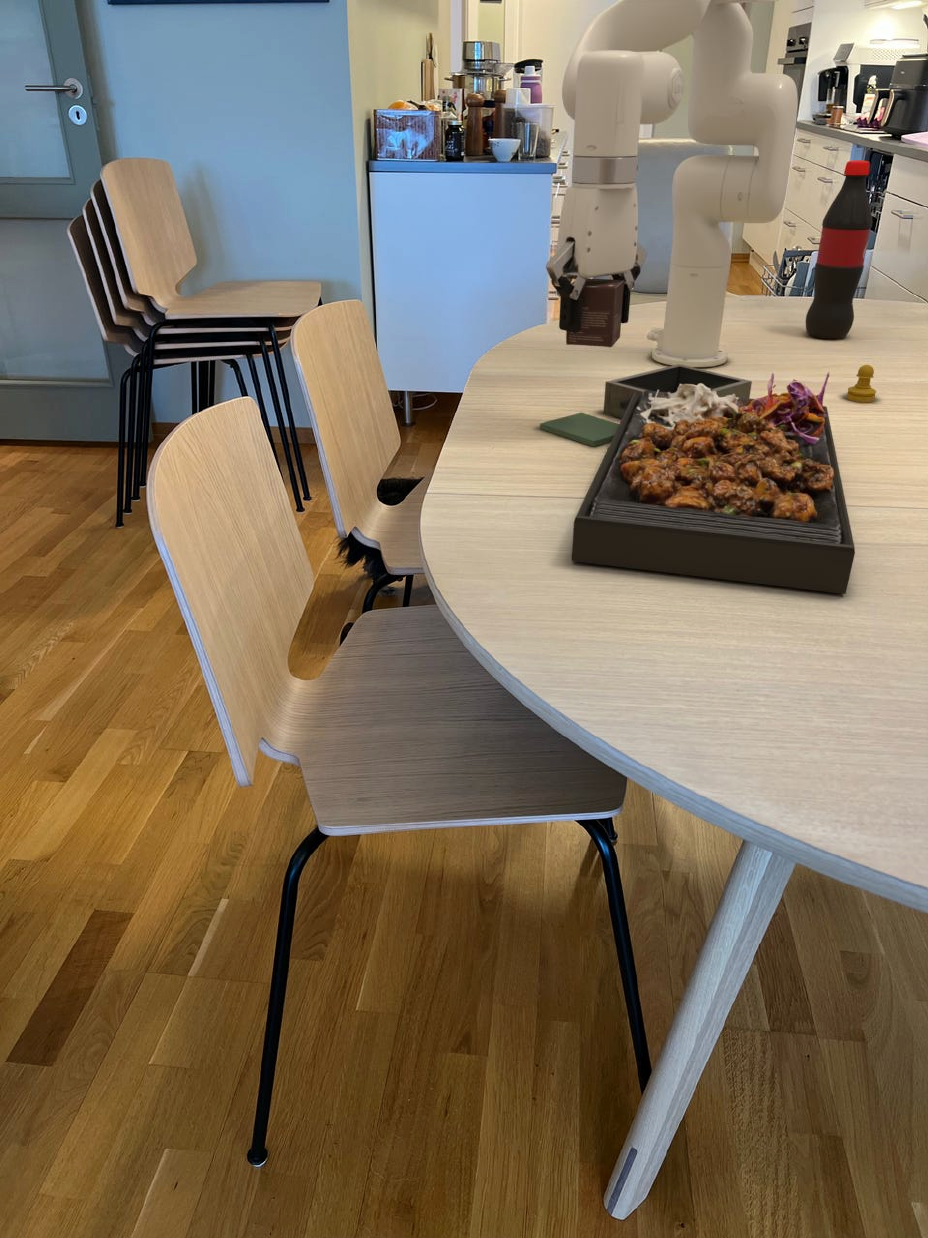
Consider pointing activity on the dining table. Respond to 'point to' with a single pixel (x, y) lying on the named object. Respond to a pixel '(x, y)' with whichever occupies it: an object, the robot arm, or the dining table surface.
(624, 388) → the dark grey tray
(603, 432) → the mat
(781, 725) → the dining table surface
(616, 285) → the box
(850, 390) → the chess piece
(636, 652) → the dining table surface
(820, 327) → the cola bottle
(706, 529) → the food platter
